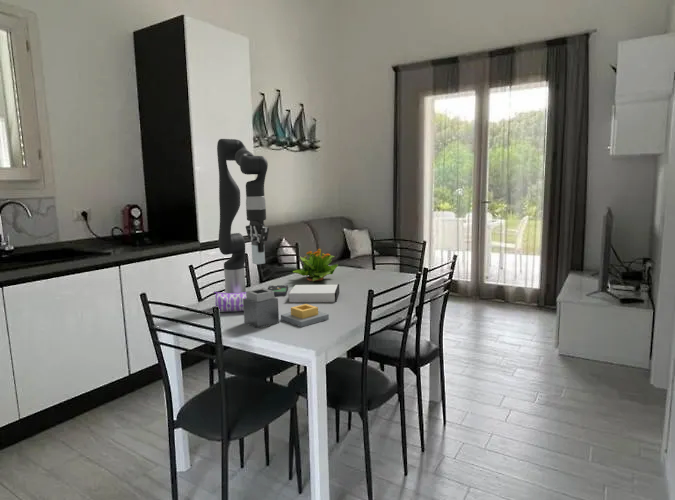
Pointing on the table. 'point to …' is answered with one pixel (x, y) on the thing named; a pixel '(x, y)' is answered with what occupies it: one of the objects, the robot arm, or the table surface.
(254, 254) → the plug
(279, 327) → the table surface
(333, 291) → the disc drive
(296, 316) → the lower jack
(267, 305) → the grey open sleeve
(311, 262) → the potted flower
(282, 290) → the disk drive
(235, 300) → the pencil case
